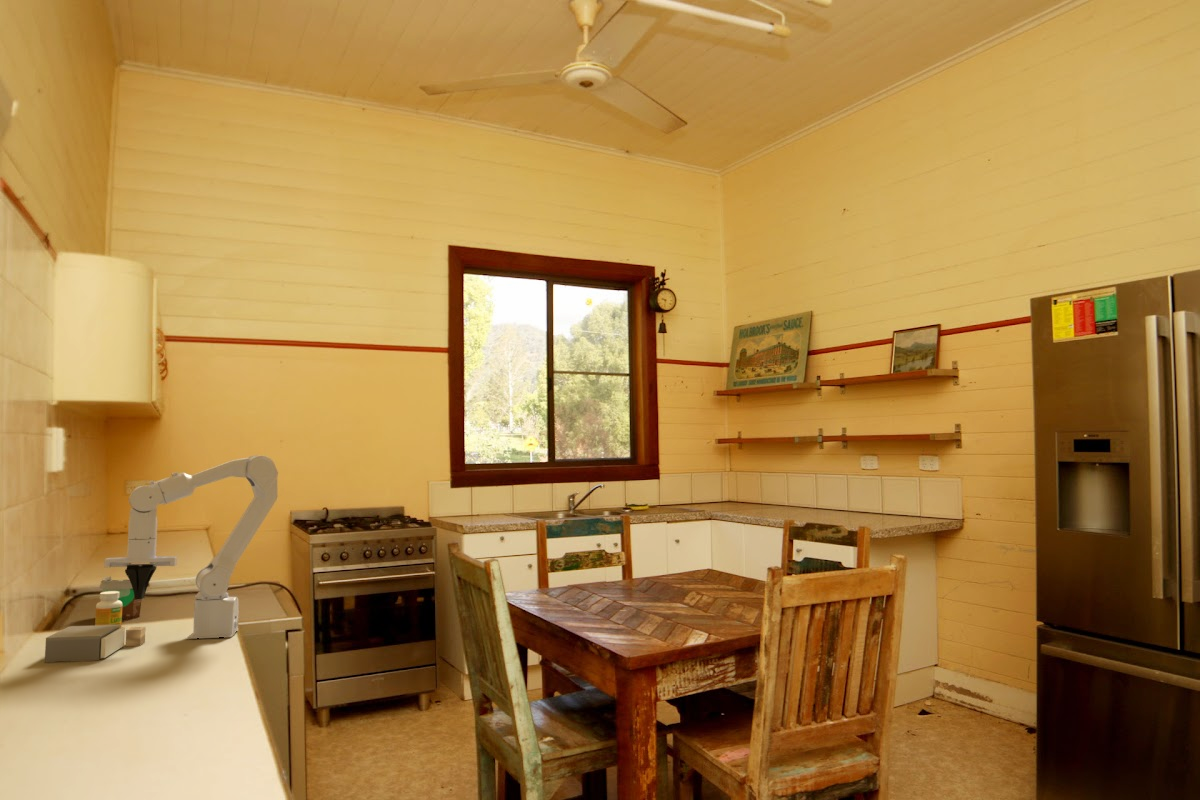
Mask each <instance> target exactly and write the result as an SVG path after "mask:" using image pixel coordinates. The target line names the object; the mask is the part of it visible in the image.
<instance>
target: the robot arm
mask: <svg viewBox="0 0 1200 800" xmlns="http://www.w3.org/2000/svg"><path fill="white" fill-rule="evenodd" d="M277 469H278V468H277V467H276V464H275V462H274V461H273V460H272V458H270V457H269V456H267V455H257V454H256V455H251V456H249V457H242V458H237V459H233V460H229V461H227V462H224V463H221V464H218V465H216V466H213V467H210V468H208V469H204V470H202V471H200V472H196V473H194V474H192V475H191V474H188V473H186V472H183V471H182V472H179V473H178V471H175V472H172V473H171V476H169V477H165V478H163V479H159V480H156V481H155V480H150V481H149V485H140V486H137V487H135V488H134V489H133V490H132V491H131V493H130V495H129V498H128V503H129V505H130V506H131V507H130V510H129V518H128V533H127V550H126V551H127V553H126V556H124V557H120V556H119V557H108V558H104V565H103V566H104V568H108V569H109V568H121V567H122V568H125V571H124V572H125V575H126V576H127V578H128V580H130V582H131V585H132V588H133V591H134V596H135V599H142V600H143V599H145V597H146V592H147V588H148V587H149V586H148V585H149V584H150V581H151V579H152V578H153V575H154V574H155V571H156V570H157V567H175V566H177V565H178V556H157V555H156V554H157V542H158V541H157V537H158V517H157V508H158V506H159V505H160V504H161V505H163V506H164V505H166V504H170V503H172V502H176V501H178V500H181V499H183V498H186V497H190V496H192V495H193V493H194V491H195V490H196V488H198V487H201V486H205V485H208V484H212V483H213V482H218V481H220V480H224V479H226V478H230V477H234V478H243V479H245V478H246V480H247V481H248V482H249V484H250V486H251V490H252V493H253V495H254V496H253V498H252V500H251V502H250V503H249V504H248V506H247V507H246V509H245V510H244V512H243V514H242V516H241V517H240V519H239V520H238V521H237V523H236V525H235V526H234V528H233V529H232V530H231V532H230V534H229V535H228V537H227V538H226V540H225V541H224V544H223V545H222V546H221V548H220V549H219V551H218V552H217V554H216V555H215V556H214V557H213V558H212V559H211V560H210V562H209V563H208V564H207V566H205V567H204V568H201V570H199V572H198V573H197V575H196V577H195V585H196V587H197V589H199V591H198V592H197V593H196V594H195V595H194V602H193V603H194V609H193V632H192V633H190V634H189V635H188V636H187V637H186V638H187V640H193V639H194V640H195V639H197V638H199V639H219V637H224V638H232V637H233V636H234V635H235V634H236V633H237V632H238V631H239V614H240V612H239V610H240V608H239V607H240V605H239V604H240V603H239V602H240V601H239V598H238V596H230V595H229V592H228V591H227V590H228V588H229V585H230V579H231V577H232V575H233V573H234V571H235V570H236V569H235V568H236V565H237V563H238V562H239V560H240V558H241V557H242V555H243V554H244V553H245V551H246V548H248V546H249V544H250V542H251V541H252V539H253V538H254V536H255V535H256V534H257V533H256V532H258V530H259V528H260V527H261V525H262V524H263V522H264V520H265V519H266V517H267V516H268V514H269V512H270V510H272V509H273V507H274V504H275V503H276V501H277V499H278V475H279V471H278V470H277ZM236 631H237V632H236ZM235 632H236V633H235Z"/></svg>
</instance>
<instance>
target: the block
mask: <svg viewBox="0 0 1200 800" xmlns="http://www.w3.org/2000/svg"><path fill="white" fill-rule="evenodd" d="M146 629H147V628H146V626H135V627H133V626H132V627H129V628H127V629H125V644H124V646H125V647H136V646H137V647H139V646H141V645H143V644H145V643H146Z"/></svg>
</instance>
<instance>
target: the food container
mask: <svg viewBox="0 0 1200 800" xmlns="http://www.w3.org/2000/svg"><path fill="white" fill-rule="evenodd" d="M99 589H102V592H108V591H118V592H120V593H119V598H118V600H120V601H121V602H122V621H123V620H133V619H137V618H140V615H141V609H142V602H143V601H142V600H143V599H135V596H134V591H133V588H132V585H131V582H130V580H129V579H121V580H120V579H119V580H117V579H112V576H107V577H104V578H102V580H101V581H100V584H99Z"/></svg>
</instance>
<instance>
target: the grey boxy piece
mask: <svg viewBox="0 0 1200 800" xmlns="http://www.w3.org/2000/svg"><path fill="white" fill-rule="evenodd" d="M119 628H120V625H95V624H94V625H71V626H68V627H65V628H64V629H61V630H59V631H57V632H55V633H53V634H50V635H49V636H47V637H45V648H44V652H45V653H44V663H45V662H47V663H54V662H53V661H71V662H86V661H87V662H89V661H90V662H91V661H92V662H93V661H100V660H101V659H103V658H101V638H102V637H104V636H107V635H109V634H110V633H112V632H114V631H116V630H117V629H119Z"/></svg>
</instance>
